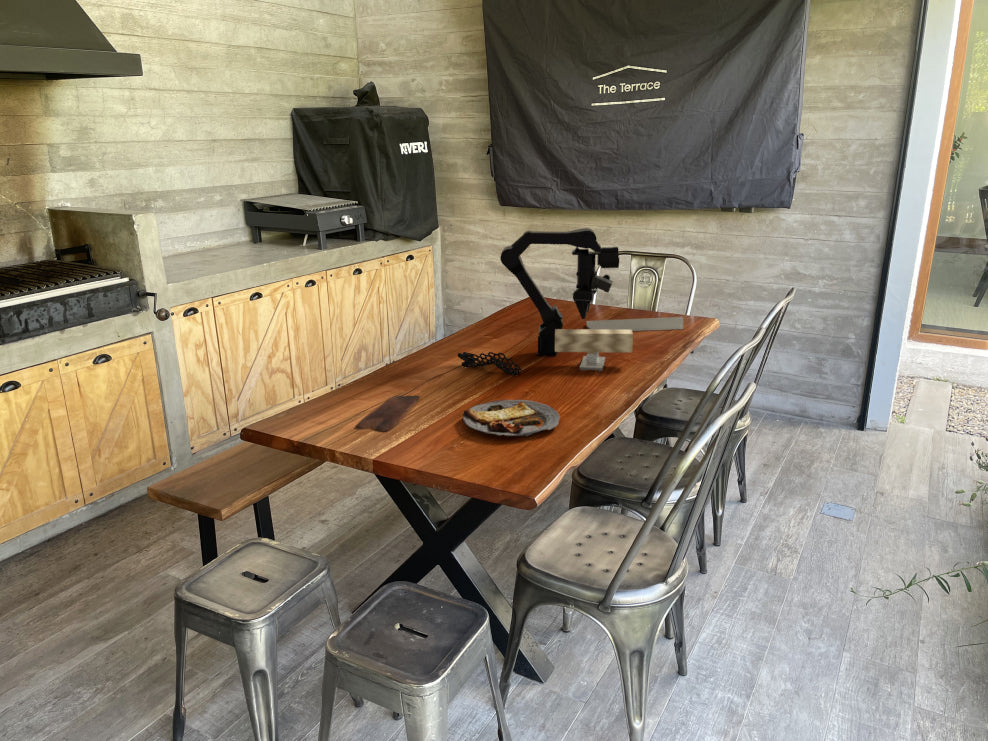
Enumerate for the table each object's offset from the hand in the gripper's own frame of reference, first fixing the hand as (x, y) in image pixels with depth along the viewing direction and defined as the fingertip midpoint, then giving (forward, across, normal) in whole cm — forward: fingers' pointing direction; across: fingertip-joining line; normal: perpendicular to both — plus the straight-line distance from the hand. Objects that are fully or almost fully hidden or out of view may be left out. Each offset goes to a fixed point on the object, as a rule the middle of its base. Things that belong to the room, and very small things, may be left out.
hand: (585, 315), depth 246 cm
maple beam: (+8, -12, -4) cm, 15 cm away
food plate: (+14, -64, +12) cm, 66 cm away
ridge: (+13, -12, -4) cm, 18 cm away
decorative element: (+14, -22, +28) cm, 38 cm away
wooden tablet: (+14, -62, +45) cm, 78 cm away
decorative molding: (+14, +37, -14) cm, 42 cm away
